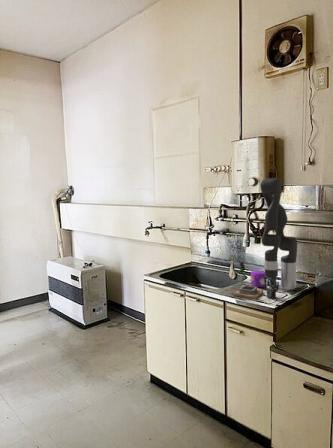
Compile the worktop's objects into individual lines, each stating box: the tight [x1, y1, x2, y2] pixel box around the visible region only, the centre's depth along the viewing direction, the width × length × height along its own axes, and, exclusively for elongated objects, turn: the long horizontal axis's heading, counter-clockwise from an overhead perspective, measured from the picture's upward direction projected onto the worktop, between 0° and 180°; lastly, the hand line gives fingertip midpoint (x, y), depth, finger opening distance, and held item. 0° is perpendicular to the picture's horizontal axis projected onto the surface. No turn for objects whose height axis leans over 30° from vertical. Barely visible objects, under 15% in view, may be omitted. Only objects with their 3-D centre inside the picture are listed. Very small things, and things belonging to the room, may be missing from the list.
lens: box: [266, 285, 277, 300], centre depth 203 cm, size 5×5×7 cm
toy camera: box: [250, 269, 266, 288], centre depth 227 cm, size 11×14×10 cm
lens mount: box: [232, 284, 264, 300], centre depth 211 cm, size 14×14×4 cm
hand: (271, 296), depth 203 cm, fingers closed on lens, 5 cm apart
